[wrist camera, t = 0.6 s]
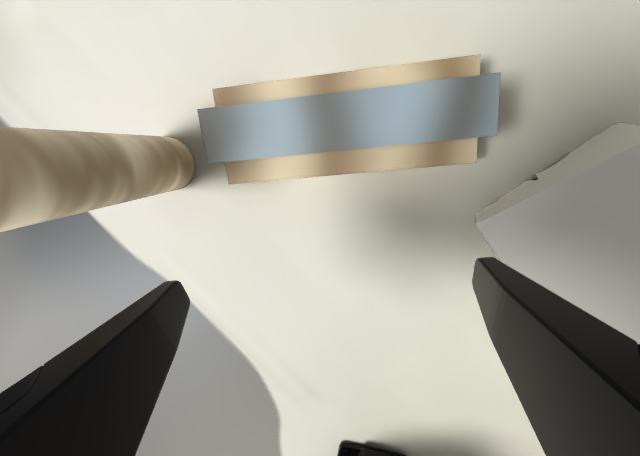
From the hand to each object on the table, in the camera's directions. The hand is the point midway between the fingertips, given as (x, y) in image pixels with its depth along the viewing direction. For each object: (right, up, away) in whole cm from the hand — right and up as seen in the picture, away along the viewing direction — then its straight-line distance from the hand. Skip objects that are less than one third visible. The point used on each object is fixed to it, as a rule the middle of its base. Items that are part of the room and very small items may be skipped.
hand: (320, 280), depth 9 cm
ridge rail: (+2, +9, +12) cm, 15 cm away
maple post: (-12, +7, +14) cm, 19 cm away
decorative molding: (+25, -8, +15) cm, 30 cm away
